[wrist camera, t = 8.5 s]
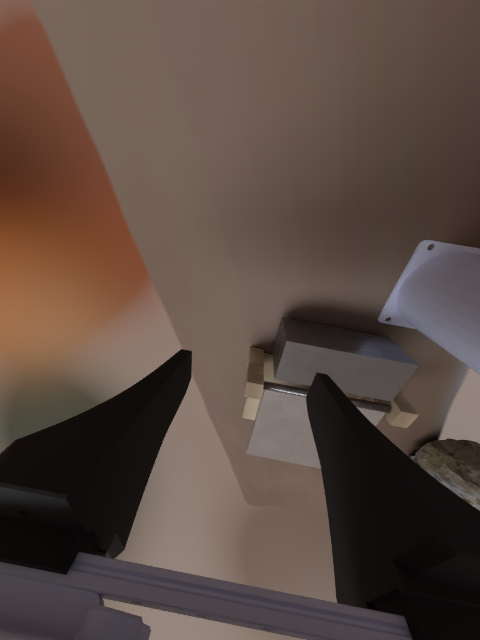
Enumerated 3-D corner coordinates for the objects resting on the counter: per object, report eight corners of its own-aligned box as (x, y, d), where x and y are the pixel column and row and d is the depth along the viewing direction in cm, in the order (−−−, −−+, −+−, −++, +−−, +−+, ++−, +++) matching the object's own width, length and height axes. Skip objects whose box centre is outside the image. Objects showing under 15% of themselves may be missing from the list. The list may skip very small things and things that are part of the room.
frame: (385, 372, 23) (419, 415, 18) (342, 434, 29) (358, 480, 24) (250, 346, 23) (247, 381, 18) (235, 413, 29) (230, 454, 24)
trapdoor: (395, 338, 20) (427, 367, 16) (330, 439, 28) (341, 474, 24) (275, 316, 20) (278, 339, 16) (246, 422, 28) (244, 454, 25)
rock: (530, 511, 18) (510, 447, 24) (448, 449, 21) (450, 408, 28) (435, 543, 23) (440, 484, 30) (383, 490, 27) (397, 448, 33)
